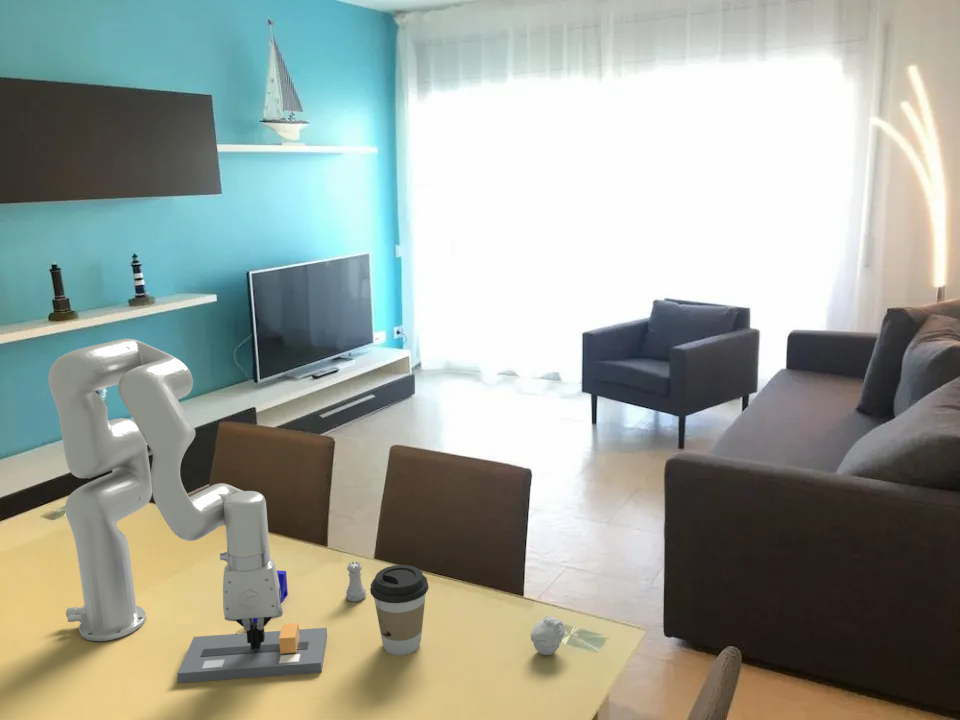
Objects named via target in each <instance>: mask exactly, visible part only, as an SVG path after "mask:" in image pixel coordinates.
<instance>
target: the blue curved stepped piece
mask: <svg viewBox="0 0 960 720" xmlns="http://www.w3.org/2000/svg"><path fill="white" fill-rule="evenodd" d="M277 574H278V579H279V585H280V592H281V602H280V604H281V603H282V604H283V602H284V601H285V599H286V598H287V597H288V595H289V593H288V579H287V571H286V570H277ZM282 604H281V605H282ZM253 621H254V622H255V624H256V623H257V618H253Z"/></svg>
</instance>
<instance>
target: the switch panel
mask: <svg viewBox="0 0 960 720" xmlns="http://www.w3.org/2000/svg"><path fill="white" fill-rule="evenodd" d="M327 628H328V627H317V628H316V627H315V628H303V629H302V628H299V642H298V647H297V651H296V653H282V654H280V645H279V637H280V633H281V630H273V631H264V634H265V640H264V642H261V646H260V649H257V648H256V647H255V648H254V649H251V645H250V643H248V642H247V632H244V633H232V634H231V633H229V634H216V635H215V634H214V635H200V636H193V638H192V641H191V643H190V645H189V646H188V649H187V652H186V654H185V655H184V658H183V660H182V662H181V664H180V666H179V669H178V671H177V675H176V676H177V683H178V684H181V683H182V684H184V683H195V682H209V681H210V682H211V681H222V680H225V681H226V680H236V679H248V678H251V679H252V678H264V677H276V676H278V677H279V676H289V675H292V676H293V675H302V674H303V675H304V674H306V675H307V674H318V673H322V672H323V666H324V659H325V653H326V647H327V641H328V629H327Z"/></svg>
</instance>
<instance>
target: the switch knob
mask: <svg viewBox="0 0 960 720" xmlns="http://www.w3.org/2000/svg"><path fill="white" fill-rule="evenodd" d="M299 629H300V625H299V622H293V623H283V624H282V625H281V630H280V631H281V633H280V637H279V645H280V654H282V653H296V651H297V647H298V642H299Z"/></svg>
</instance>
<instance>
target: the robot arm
mask: <svg viewBox="0 0 960 720" xmlns="http://www.w3.org/2000/svg"><path fill="white" fill-rule="evenodd" d="M47 381H48V386H49V390H50V393H51V396H52V399H53V401H54V405H55V407H56V410H57V412H58V413H57V415H58V419H59V426H60V432H61V438H62V445H63V449H64V456H65V461H66V465H67V468H68V470H69V472H70V473H71V475H73V476H74V477H76V478H78V479H90V478H93V477H97V476H99V475H103V474H104V473H107V472H110V471H112V472H110V473H108V474H106V475H103V476H101V477H98V478H96V479H94V480H91V481H89V482H87V483H85V484H83V485H80V486H79V487H78V488H76V489H75V490H73V491H72V492H71V493H70V494H69V496H68V497H67V498H66V502H65V503H64V504H65V505H64V512H65V516H66V519H67V522H68V524H69V527H70V529H71V533H72V535H73V536H72V537H73V540H74V543H75V548H76V554H77V555H76V556H77V561H78V568H79V575H80V582H81V590H82V596H83V604H84V605H82V606H81V607H75V606H72V607H67V608H66V611H65V616H66V617H67V623H71V622H72V623H73V622H74V623H76V622H79V623H80V624H79V628H78V630H79V635H80V636H81V638H83V639H84V640H88V641H92V642H107V641H113V640H117V639H119V638H123V637H125V636H127V635H130V634H132V633H133V632H135V631H137V630H138V629H139V628H140V627H141V626H143V625H144V623H145V622H146V617H147V615H146V611H145V609H144V608H142V607H141V606H138V605H137V601H136V593H135V585H134V577H133V568H132V560H131V553H130V546H129V541H128V538H127V536H126V535H125V534H124V533H123V532H122V531H121V529H119V527H118V526H117V523H118V522H120V521H121V520H123V519H124V518H127V517H128V516H130V515H132V514H133V513H134V514H135V513H137V512H138V511H140V510H141V509H144V507H145V506H146V505H148V504H149V503H150V501H151V499H152V498H153V501H154V503H155V505H156V508H157V509H158V511H159V512H160V515H161V516H162V518H163V520H164V522H165V523H166V525H167V526H168V528H169V529H170V530H171V531H172V533H174V534H175V535H176V536H177V537H178V538H179V539H181V540H184V541H186V542H187V541H188V542H193V541H194V542H195V541H197V540H200V539H202V538H204V537H206V536H207V535H209V534H210V533H212V532H214V531H215V530H216V529H218V528H221V527H223V526H224V527H225V529H224V530H225V537H226V551H224V552H221V553H219V560H220V561H225V562H226V563H227V564H226V565H225V566H224V570H223V575H222V576H223V577H222V578H223V579H222V607H223V608H222V610H223V616H224V620H225V621H229V622H230V621H231V622H236V623H238V624H239V625H240V626H241V627H243V629H244V630H245V632H246V633H247V642H248V643H250V645H251V649H254V648H255V647H256V648H257V649H260V646H261V642H264V640H265V634H264V632H265V626H266V625H267V624H268V623H269V622H270V621H271V620H273V619H276V618H277V619H278V618H279V617H282V616H283V613H284V609H283V606H282V604H280V602H281V592H280V585H279V579H278V574H277V571H278V569H277V567H276V563H275V560H274V558H272V557H271V555H270V554H271V550H270V540H269V526H268V512H267V511H268V510H267V501H266V498H265V496H264V495H263V494H262V493H260V492H258V491H254V490H243V489H240V488H237V487H235V486H232V485H230V484H227V483H221V482H220V483H216V484H213V485H211V486H209V487H207V488H205V489H203V490H201V491H199V492H197V493H195V494H194V495H191V496H189V495H188V493H187V490H186V489H185V487H184V485H183V482H182V481H183V480H182V478H181V465H182V462H183V461H182V460H183V458H184V455H185V454H186V451H187V450H188V448H189V447H190V446H191V444H192V443H193V441H194V439H195V438H196V429H195V428H194V427H195V426H193V423H191V421H190V419H189V417H188V415H187V414H186V412H185V409H184V408H183V407H182V404H181V403H180V402H179V400H180V399H182V398H183V399H184V398H185V397H187V396H188V395H189V394H190V393H191V391H193V387H194V386H193V385H194V378H193V376H192V372H191V371H190V369H189V367H187V365H186V364H185V363H184V362H183V361H181V360H180V359H179V358H177V357H175V356H174V355H172V354H170V353H168V352H166V351H163V350H160V349H159V348H156V347H154V346H151V345H149V344H148V343H145V342H143V341H142V340H141V341H140V340H137V339H135V338H123V339H117V340H112V341H108V342H104V343H98V344H94V345H93V344H92V345H89V346H86V347H82V348H78V349H75V350H72V351H69V352H67V353H65V354H63V355H61V356H59V357H58V358H57V359H56V360H55V361H54V362H53V363H52V365H51V367H50V369H49V372H48V379H47ZM114 386H117V390H118V394H119V397H120V398H121V400H122V402H123V404H124V405H125V408H126V409H127V411H128V413H129V415H130V416H131V418H132V420H131V419H128V418H124V417H119V418H114V419H110V420H109V415H108V410H107V405H106V403H105V401H104V400H103V398H102V397H101V396H100V395H99V394H98V393H97V391H100V390H104V389H106V388H110V387H114ZM148 447H149V449H150V451H151V453H152V463H151V464H150V460H149V458H150V457H149V453H148V452H149V451H148ZM150 465H151V466H150ZM253 618H257V623H255V622H254V621H253Z"/></svg>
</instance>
